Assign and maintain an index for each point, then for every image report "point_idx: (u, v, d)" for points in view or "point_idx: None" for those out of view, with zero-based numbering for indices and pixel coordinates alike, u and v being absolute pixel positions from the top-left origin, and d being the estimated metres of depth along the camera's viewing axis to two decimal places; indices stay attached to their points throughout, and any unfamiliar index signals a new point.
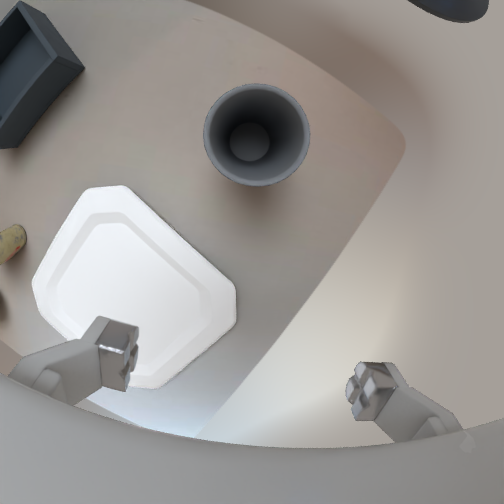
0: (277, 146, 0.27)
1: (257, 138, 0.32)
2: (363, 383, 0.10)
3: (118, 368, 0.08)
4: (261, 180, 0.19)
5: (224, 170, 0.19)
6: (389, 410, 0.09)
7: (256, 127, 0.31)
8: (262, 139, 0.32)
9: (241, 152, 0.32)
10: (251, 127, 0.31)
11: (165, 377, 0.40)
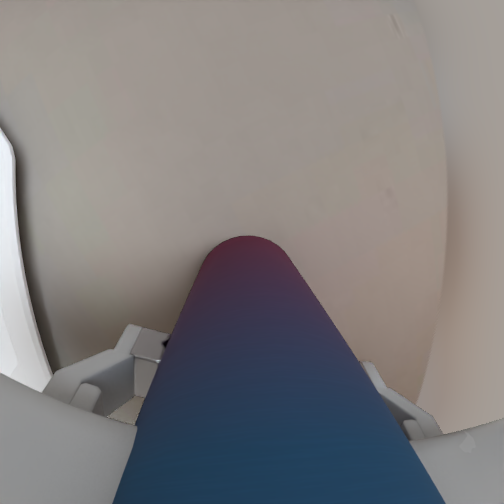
0: None
1: None
2: None
3: (153, 377, 0.08)
4: None
5: None
6: None
7: None
8: None
9: None
10: None
11: None
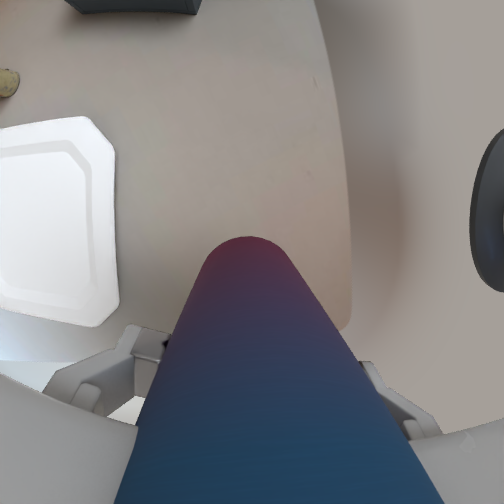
0: None
1: None
2: None
3: (153, 377, 0.08)
4: None
5: None
6: None
7: None
8: None
9: None
10: None
11: (13, 308, 0.31)
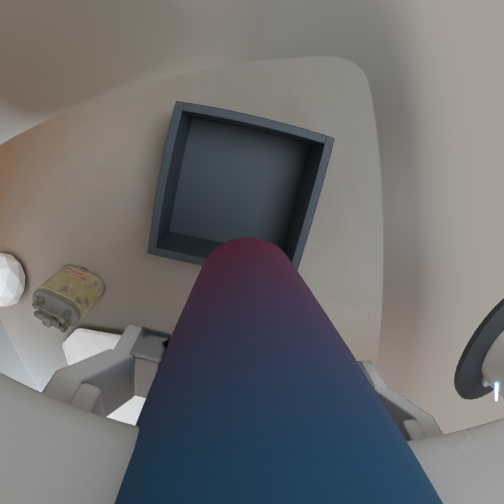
0: None
1: None
2: None
3: (153, 377, 0.08)
4: None
5: None
6: None
7: None
8: None
9: None
10: None
11: None
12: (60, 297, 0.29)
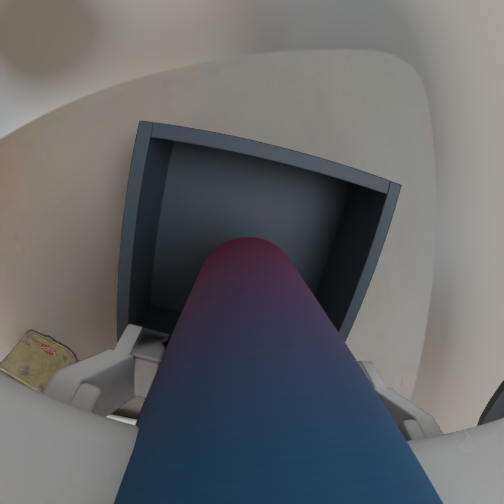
0: None
1: None
2: None
3: (153, 377, 0.08)
4: None
5: None
6: None
7: None
8: None
9: None
10: None
11: None
12: None
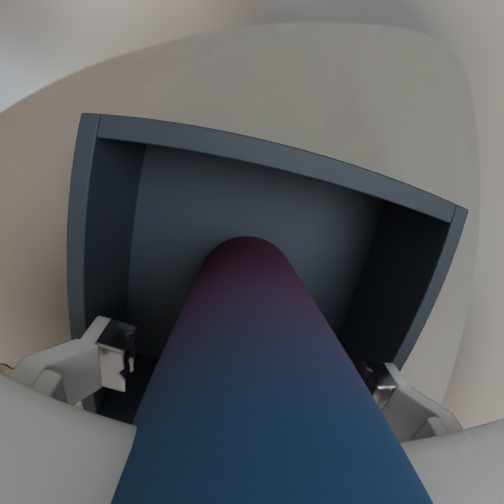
0: None
1: None
2: None
3: (118, 368, 0.08)
4: None
5: None
6: (389, 410, 0.09)
7: None
8: None
9: None
10: None
11: None
12: None
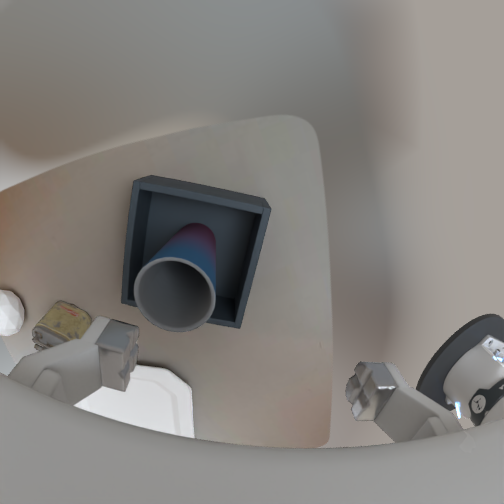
0: (200, 276, 0.33)
1: None
2: (363, 383, 0.10)
3: (118, 368, 0.08)
4: (152, 318, 0.24)
5: (137, 295, 0.23)
6: (389, 410, 0.09)
7: None
8: None
9: None
10: None
11: None
12: (55, 333, 0.34)
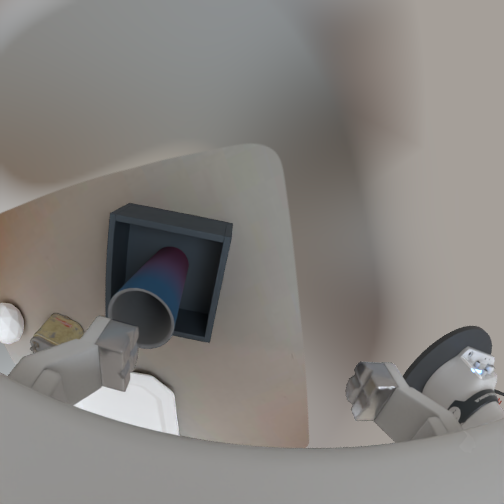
0: None
1: None
2: (363, 383, 0.10)
3: (118, 368, 0.08)
4: None
5: (110, 317, 0.27)
6: (389, 410, 0.09)
7: None
8: None
9: None
10: None
11: None
12: (50, 343, 0.37)
